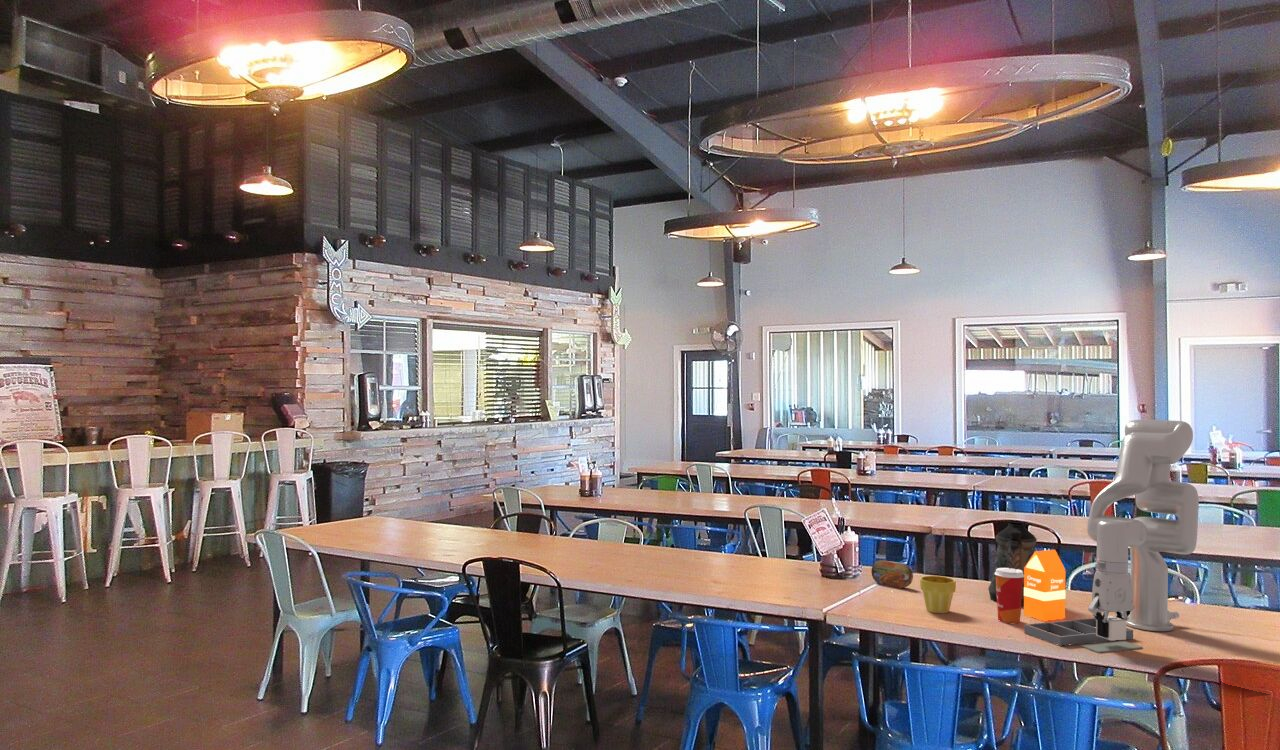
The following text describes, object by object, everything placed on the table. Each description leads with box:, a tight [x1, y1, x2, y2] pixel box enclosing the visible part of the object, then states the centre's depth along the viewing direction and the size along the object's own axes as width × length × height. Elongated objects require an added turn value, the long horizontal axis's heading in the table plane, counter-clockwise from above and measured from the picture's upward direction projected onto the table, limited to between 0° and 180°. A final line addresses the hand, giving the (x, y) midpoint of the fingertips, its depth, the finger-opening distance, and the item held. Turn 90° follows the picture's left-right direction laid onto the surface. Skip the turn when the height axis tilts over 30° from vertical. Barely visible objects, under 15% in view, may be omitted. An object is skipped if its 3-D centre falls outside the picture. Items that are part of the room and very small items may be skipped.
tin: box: [870, 559, 914, 589], centre depth 314 cm, size 15×3×8 cm, turn 43°
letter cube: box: [1096, 615, 1127, 642], centre depth 242 cm, size 5×5×5 cm
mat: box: [1079, 640, 1143, 654], centre depth 242 cm, size 15×6×1 cm, turn 109°
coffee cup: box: [993, 568, 1024, 624], centre depth 268 cm, size 8×8×15 cm
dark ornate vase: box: [987, 522, 1038, 607], centre depth 293 cm, size 16×19×25 cm
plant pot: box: [919, 575, 957, 614], centre depth 279 cm, size 10×10×10 cm
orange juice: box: [1023, 549, 1066, 622], centre depth 274 cm, size 8×9×20 cm
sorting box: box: [1024, 617, 1134, 647], centre depth 253 cm, size 25×13×2 cm, turn 109°
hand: (1111, 635), depth 242 cm, fingers closed on letter cube, 5 cm apart
